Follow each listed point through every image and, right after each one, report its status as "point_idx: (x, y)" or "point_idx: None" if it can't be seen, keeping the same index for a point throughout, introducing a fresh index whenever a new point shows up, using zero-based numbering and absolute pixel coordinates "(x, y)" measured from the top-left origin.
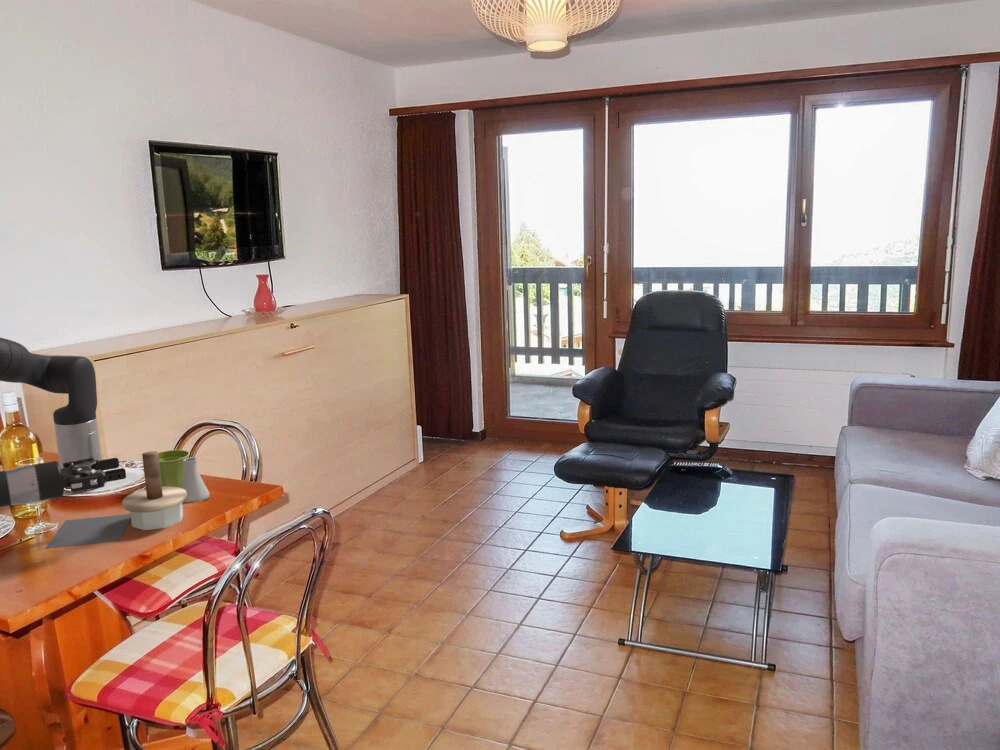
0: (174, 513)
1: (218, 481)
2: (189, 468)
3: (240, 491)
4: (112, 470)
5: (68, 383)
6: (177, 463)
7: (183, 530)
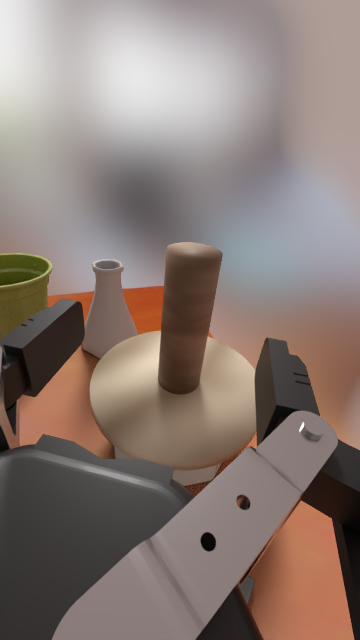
0: None
1: (78, 299)
2: (115, 284)
3: (149, 304)
4: (288, 376)
5: None
6: (46, 281)
7: None
